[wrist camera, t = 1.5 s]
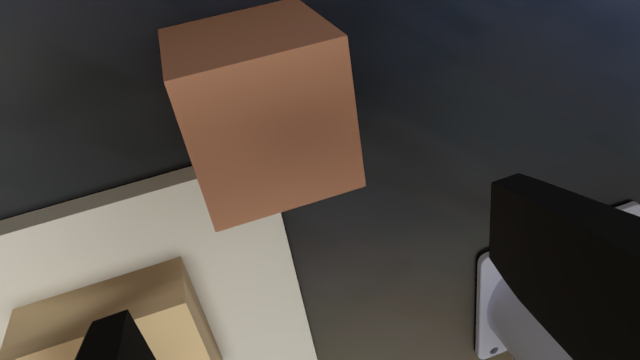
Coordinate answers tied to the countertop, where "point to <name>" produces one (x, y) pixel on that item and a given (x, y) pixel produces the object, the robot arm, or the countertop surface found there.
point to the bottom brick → (109, 298)
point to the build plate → (159, 246)
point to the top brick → (264, 109)
